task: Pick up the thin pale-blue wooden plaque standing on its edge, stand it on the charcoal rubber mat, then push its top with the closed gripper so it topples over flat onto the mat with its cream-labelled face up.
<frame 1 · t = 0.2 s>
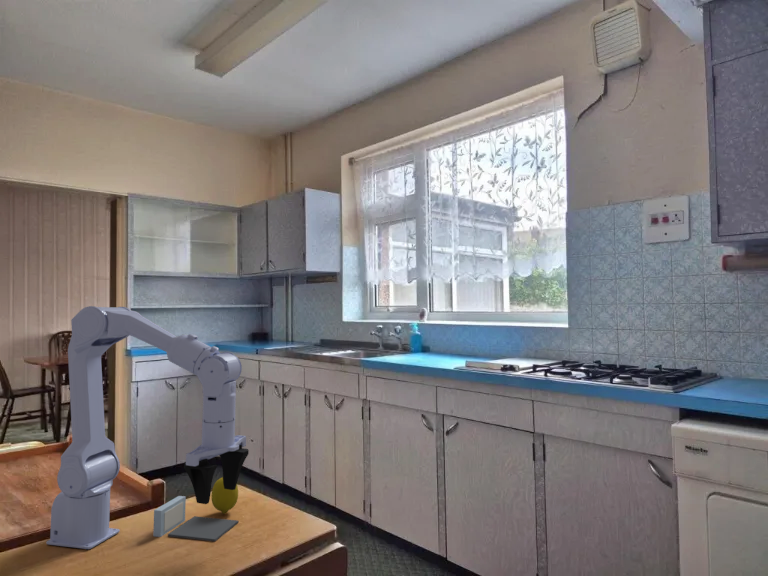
hand: (216, 495, 94), 10 cm above the table, tool pointing down, fingers open, 7 cm apart
lemon: (224, 514, 111), on the table
plaque: (169, 528, 103), on the table
mat: (204, 529, 103), on the table
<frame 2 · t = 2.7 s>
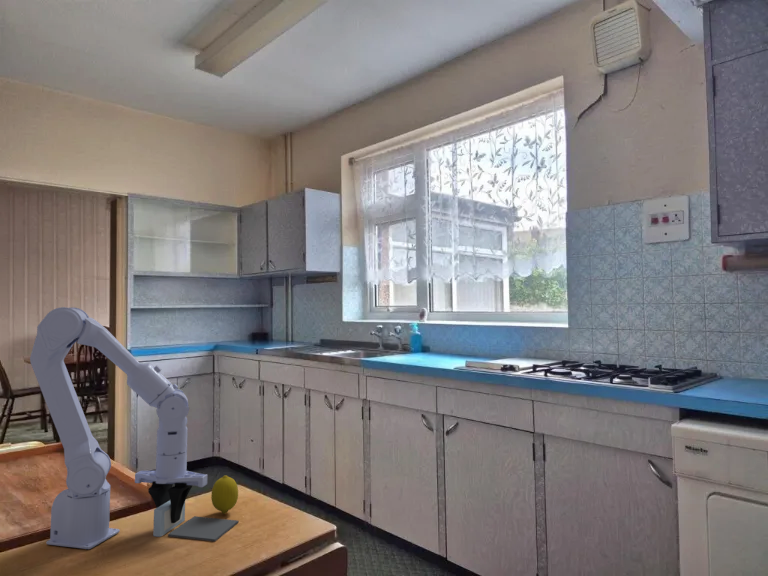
hand: (169, 520, 103), 1 cm above the table, tool pointing down, fingers closed on plaque, 2 cm apart
plaque: (169, 528, 103), on the table, touching gripper
everything else where it was.
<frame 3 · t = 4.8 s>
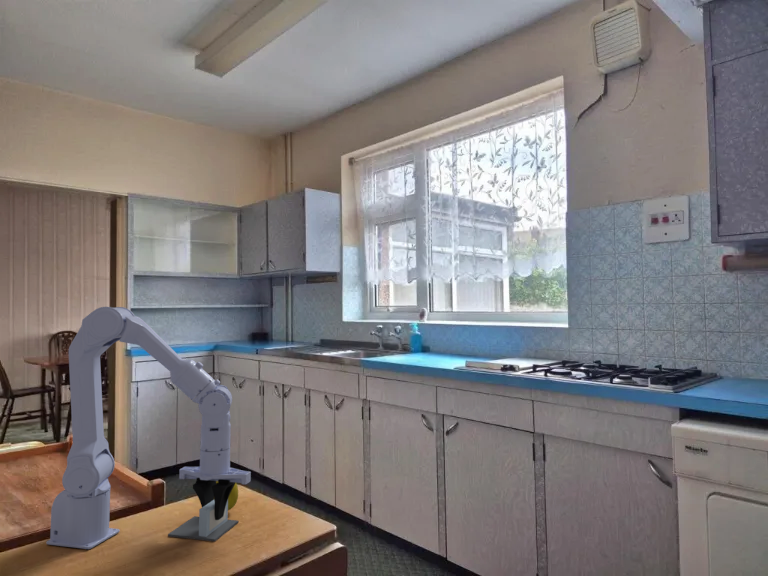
hand: (213, 517, 102), 2 cm above the table, tool pointing down, fingers closed on plaque, 2 cm apart
plaque: (213, 527, 102), resting on mat, touching gripper
everything else where it was.
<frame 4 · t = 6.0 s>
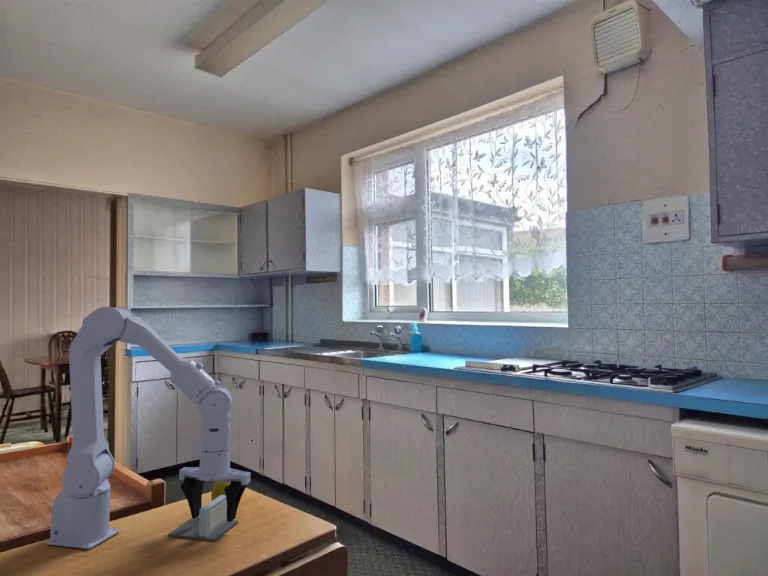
hand: (213, 518, 102), 2 cm above the table, tool pointing down, fingers open, 7 cm apart
plaque: (213, 527, 102), resting on mat
everything else where it was.
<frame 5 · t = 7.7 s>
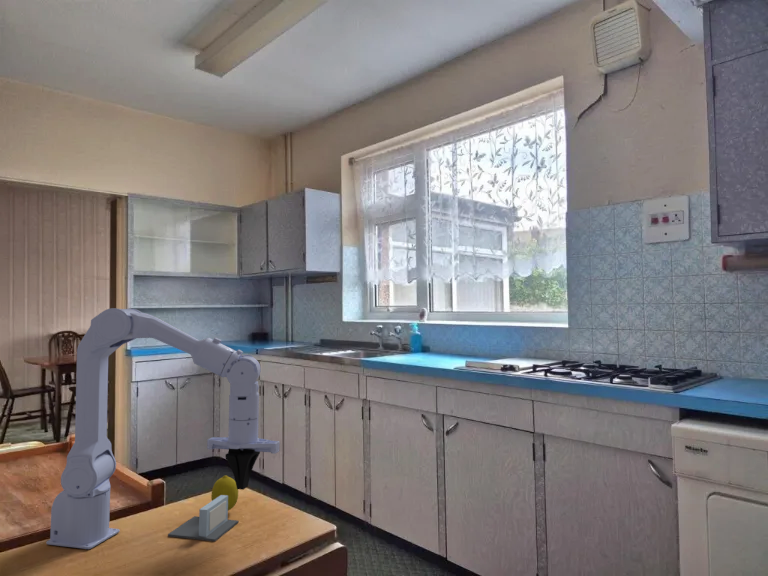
hand: (242, 487, 101), 9 cm above the table, tool pointing down, fingers closed
nothing on the table moved.
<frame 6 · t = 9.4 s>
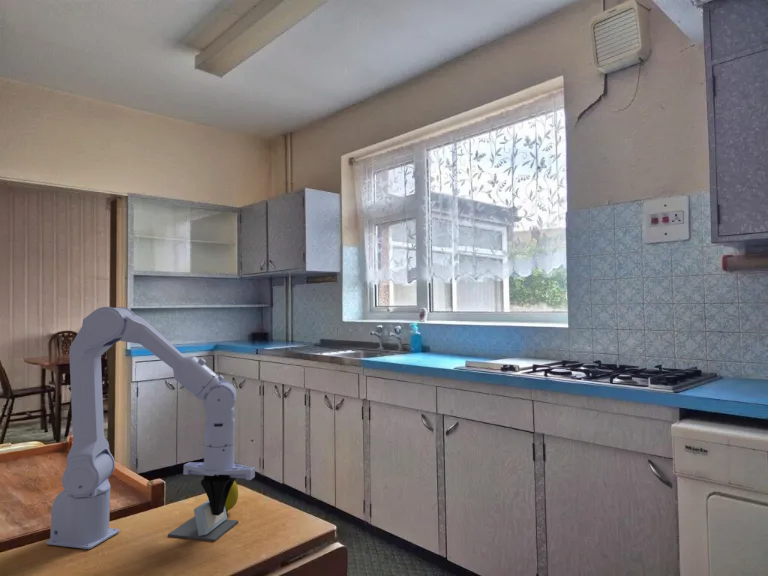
hand: (217, 513, 102), 3 cm above the table, tool pointing down, fingers closed
plaque: (213, 526, 102), point 1 cm above the table, tilted 15°, touching gripper, mat
everything else where it was.
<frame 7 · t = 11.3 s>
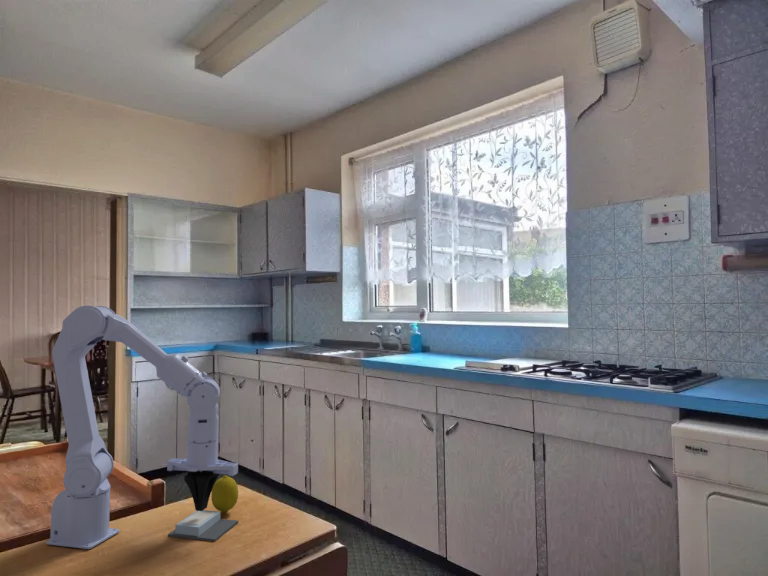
hand: (201, 509, 103), 4 cm above the table, tool pointing down, fingers closed
plaque: (209, 523, 103), point 1 cm above the table, tilted 90°, touching mat
everything else where it was.
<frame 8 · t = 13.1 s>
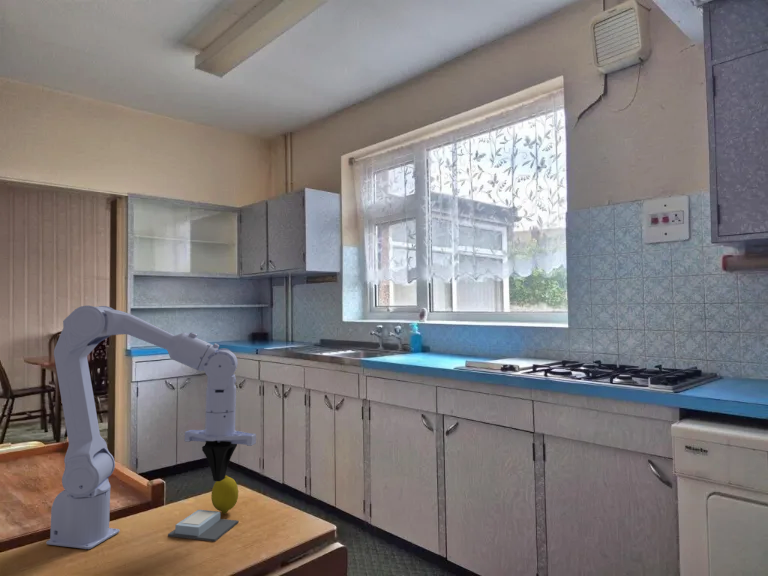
hand: (219, 479, 103), 10 cm above the table, tool pointing down, fingers closed
nothing on the table moved.
at the end: plaque tilted 90°; plaque inside the target area (1.0 cm from its centre), point 1.2 cm above the table; the gripper is holding nothing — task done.
